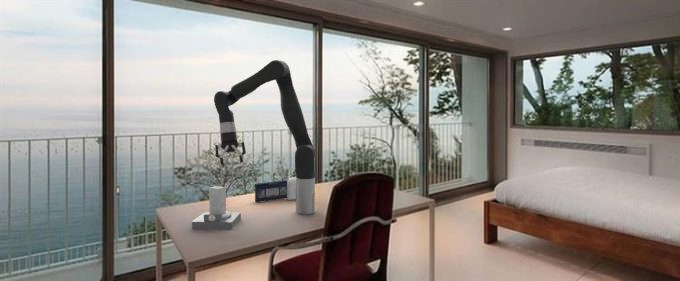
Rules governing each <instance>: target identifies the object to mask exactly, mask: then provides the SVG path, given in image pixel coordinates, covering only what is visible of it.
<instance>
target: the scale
mask: <svg viewBox="0 0 680 281" xmlns="http://www.w3.org/2000/svg"><path fill="white" fill-rule="evenodd" d="M241 220H242V213H241V212H232V211H230V210H226V213H225V214H223V215H222V213H210V211H208V212H207V211H203V212H202V213H201V214H200V215H198V216H197V217H196V218H195V219H193V220H192V221H191V229H195V230H198V229H199V230H232V229H234V228H235V226H236V225H237V224H238V223H239V221H241Z"/></svg>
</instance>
